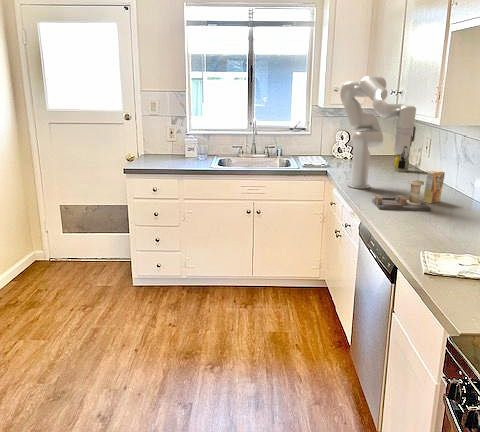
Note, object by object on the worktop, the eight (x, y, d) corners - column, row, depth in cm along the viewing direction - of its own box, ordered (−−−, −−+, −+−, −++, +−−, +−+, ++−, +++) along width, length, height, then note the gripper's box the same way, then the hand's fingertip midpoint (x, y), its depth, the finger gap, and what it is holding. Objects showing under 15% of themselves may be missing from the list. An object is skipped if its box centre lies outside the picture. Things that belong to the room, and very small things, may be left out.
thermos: (389, 169, 312) (395, 117, 301) (405, 169, 313) (412, 117, 303) (395, 172, 303) (402, 118, 293) (412, 172, 305) (419, 119, 295)
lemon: (407, 170, 231) (409, 154, 229) (400, 171, 228) (402, 155, 225) (397, 168, 235) (400, 152, 233) (391, 169, 232) (393, 153, 230)
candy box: (433, 199, 236) (437, 170, 232) (440, 201, 233) (445, 172, 228) (422, 201, 232) (426, 172, 227) (429, 203, 228) (434, 173, 224)
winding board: (372, 201, 229) (373, 192, 228) (420, 203, 229) (421, 194, 227) (379, 209, 216) (380, 200, 215) (430, 211, 215) (431, 201, 214)
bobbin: (403, 201, 225) (406, 179, 222) (418, 202, 225) (421, 180, 222) (408, 205, 218) (411, 182, 215) (422, 205, 218) (426, 183, 215)
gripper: (392, 128, 234) (387, 163, 239) (402, 133, 217) (396, 170, 223) (407, 129, 234) (401, 164, 239) (418, 134, 217) (412, 171, 223)
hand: (399, 166), depth 231 cm, fingers closed on lemon, 5 cm apart
